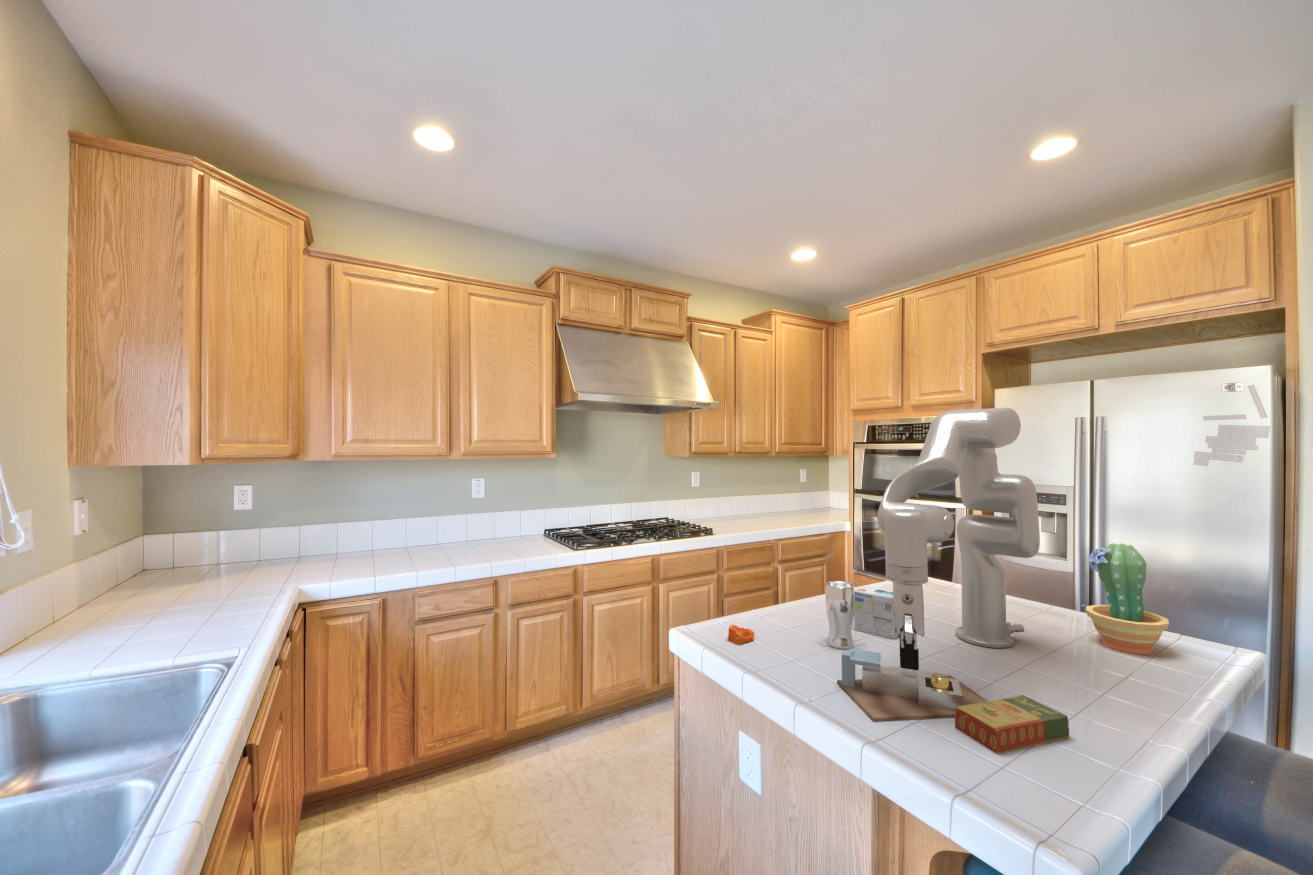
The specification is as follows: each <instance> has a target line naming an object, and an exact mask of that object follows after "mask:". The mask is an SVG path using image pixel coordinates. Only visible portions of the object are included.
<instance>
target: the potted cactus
mask: <svg viewBox="0 0 1313 875" xmlns="http://www.w3.org/2000/svg"><path fill="white" fill-rule="evenodd" d="M1088 563H1089V564H1088V565H1089V567H1090V570H1094V571H1095V572H1098V573H1097V574H1098V577H1099V579H1100V581H1101V583H1102V584H1103V585H1102V586H1104V590H1105V594H1106V599H1107V602H1108V604H1093V605H1092V604H1091V605H1086V607H1085V612H1086V616H1087V617H1089V618H1090V619H1091V621H1092V624H1093V626H1094V629H1095V630H1096V632H1097V633H1098V634H1099V635H1100V637H1101V638H1102V644H1103V645H1105V647H1108V648H1111V649H1113V650H1117V651H1119V652H1124V653H1130V654H1133V655H1134V654H1135V655H1136V654H1138V655H1147V654H1149V655H1150V654H1152V648H1151V647H1153V646H1154V645H1156V643H1158V641H1159V640H1160V638H1161V637H1162V634H1163V632H1164V630H1165V631H1166V630H1168V629H1169V625H1170V622H1169V618H1166V617H1164V616H1162V615H1160V614H1157V613H1154V612H1151V611H1146V610H1145V609H1144V597H1143V588H1144V586H1145V583H1146V579H1147V562H1146V560H1145V558H1144V557H1143V555H1141V553H1140V552H1139V551H1138V550H1137V549H1136V548H1135V547H1134V546H1133V545H1132V544H1128V545H1127V544H1125V543H1120V544H1116V543H1113V542H1111V543H1109V544H1108V545H1107V546H1106V547H1098V548H1095V549H1094V550H1093V551H1092V552H1091V553H1090V555H1089V556H1088Z"/></svg>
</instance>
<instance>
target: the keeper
mask: <svg viewBox="0 0 1313 875" xmlns="http://www.w3.org/2000/svg"><path fill="white" fill-rule="evenodd" d="M841 652H842V653H841V680H842V685H844V686H849V687H855V680H856V666H857V665H858V666H862V667H863V666H869V667H875V668H880V666H881V659H882V658H881V654H882V653H881V652H876V651H871V650H863V649H857V648H851V650H850V651H848V650H842V651H841Z"/></svg>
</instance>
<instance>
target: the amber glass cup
mask: <svg viewBox="0 0 1313 875" xmlns="http://www.w3.org/2000/svg"><path fill="white" fill-rule="evenodd" d="M930 675H931V688H936V689H941V690H947V691H949V678H948V677H947V676H946V675H945V674H943V673H931V674H930Z"/></svg>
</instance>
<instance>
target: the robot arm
mask: <svg viewBox="0 0 1313 875" xmlns="http://www.w3.org/2000/svg"><path fill="white" fill-rule="evenodd" d="M1021 425H1022V424H1021V419H1020V416H1019V414H1018V413H1017V411H1015V409H1013V408H1010V407H993V408H992V407H991V408H969V409H968V408H967V409H955V410H948V411H945V412H942V413H940V414H938V415H937V416H936V417H934V418H933V419H932V421H931V423H930V426H929V428H928V431H927V433H926V438H925V441H924V443H923V446H922V449H921V451H920V455H919V458H918V461H917V462H916V463H914V464H912V465H911V466H908V468H906V469H905V470H903V471H902V472H901V473H899V474H898V475H897V476H896V477H894V479H892V481H891V482H890V483H889V484H888V485H887V486H886V488H885V491H884V493H883V496H882V498H881V502H880V504H879V507H878V509H877V510H878V511H877V516H876V518H877V520H876V522H877V526H878V529H879V531H880V532H881V533H882V534H883V535H884V548H885V549H884V551H885V553H884V555H885V556H884V557H885V558H884V559H885V579H886V580H888V581H889V582H892V591H893V601H894V614H895V622H896V628H897V632H898V633H899V636H898V637H899V668H900V669H903V670H909V671H919V670H920V660H919V659H920V658H919V652H920V651H919V648H918V639H917V638H918V637H917V636H920V637H921V638H923V637H924V636H925V633H926V632H925V605H924V601H925V600H924V589H923V585H925V584H927V583H928V582H929V573H928V572H929V567H928V544H938V543H942V542H944V541H946V540H947V539H949V538H950V537H951V536H952V534H953V531H954V529H955V522H954V521H955V520H954V517H953V515H952V513H951V512H950V511H949V510H948V509H946V508H945V507H943V506H940V505H934V504H921V503H913V502H912V503H910V502H909V503H908V502H907V501H908V499H910V498H912V497H914V496H915V495H917V494H919V493H922V492H924V491H928V490H932V489H934V488H935V489H936V488H938V487H941V486H943V485H944V486H945V485H948V484H950V483H952V482H953V481H955V480H957V479H959V481H958V482H959V492H960V499H961V502H962V504H963V506H964V507H965V508H967V509H969V510H972V511H979V512H987V513H988V512H989V513H1000V514H1001V513H1002V514H1009V515H1011V516H1012V517H1010V516H1007V517H1006V516H998V515H990V514H987V515H986V514H968V515H965V516H963V517H961V518H960V519H959V520H958V521H957V523H956V538H957V541H958V547H959V552H960V563H961V568H960V569H961V616H962V617H961V619H962V620H961V622H962V623H961V624H962V625H961V626H959V627H957V628H955V635H956V637H957V638H959V639H960V640H962V641H964V642H967V643H969V644H972V645H976V646H980V647H986V648H993V649H994V648H995V649H997V648H998V649H1002V648H1003V649H1004V648H1010V647H1013V646H1014V645H1015V640H1014V637H1013V636H1012V634H1014V633H1024V632H1025V627H1024V625H1023V624H1019V623H1018V624H1017V623H1016V624H1012V623H1011V622H1007V594H1006V593H1007V592H1006V591H1007V590H1006V589H1007V588H1006V587H1007V586H1006V571H1005V568H1004V567H1003V565H1002V563H1001V562H1000V561H999V559H998V558H997V557H996V556H995V555H997V556H998V555H1000V556H1006V557H1015V558H1021V559H1023V558H1024V559H1030V558H1034V557H1035V556H1037V554H1038V553H1039V550H1040V543H1041V535H1040V534H1041V533H1040V522H1039V507H1038V506H1039V505H1038V494H1037V489H1036V485H1035V483H1034V482H1033V481H1032V479H1031V478H1029V477H1027V476H1026V475H1023V474H1022V475H1021V474H1007V473H1004V474H1002V473H1000V472H999V468H998V467H999V466H998V456H997V453H996V451H995V449H998V448H999V449H1000V448H1003V447H1006V446H1009V445H1012V444H1013V443H1014V442H1015V441H1017V439H1018V438H1019V435H1020V432H1021Z"/></svg>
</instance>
